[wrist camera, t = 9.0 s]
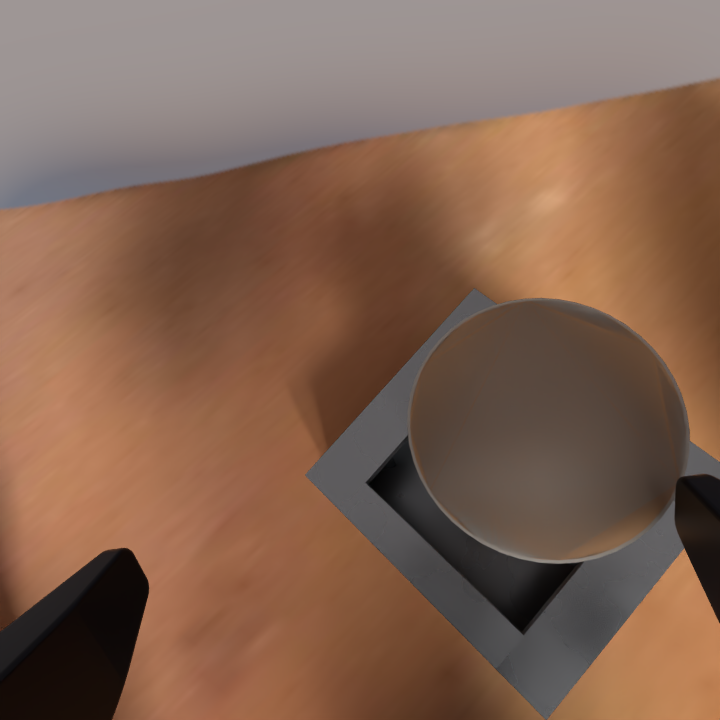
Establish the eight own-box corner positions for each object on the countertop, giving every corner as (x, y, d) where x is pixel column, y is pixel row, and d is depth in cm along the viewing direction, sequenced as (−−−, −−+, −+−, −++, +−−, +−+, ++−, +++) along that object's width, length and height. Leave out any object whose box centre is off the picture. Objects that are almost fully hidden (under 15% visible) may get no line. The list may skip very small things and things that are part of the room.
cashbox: (686, 485, 20) (743, 473, 16) (529, 678, 19) (546, 720, 15) (476, 329, 23) (477, 285, 19) (336, 485, 22) (304, 475, 18)
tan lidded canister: (588, 482, 20) (751, 408, 8) (510, 574, 20) (567, 630, 8) (493, 405, 22) (518, 253, 10) (418, 488, 21) (355, 431, 10)
